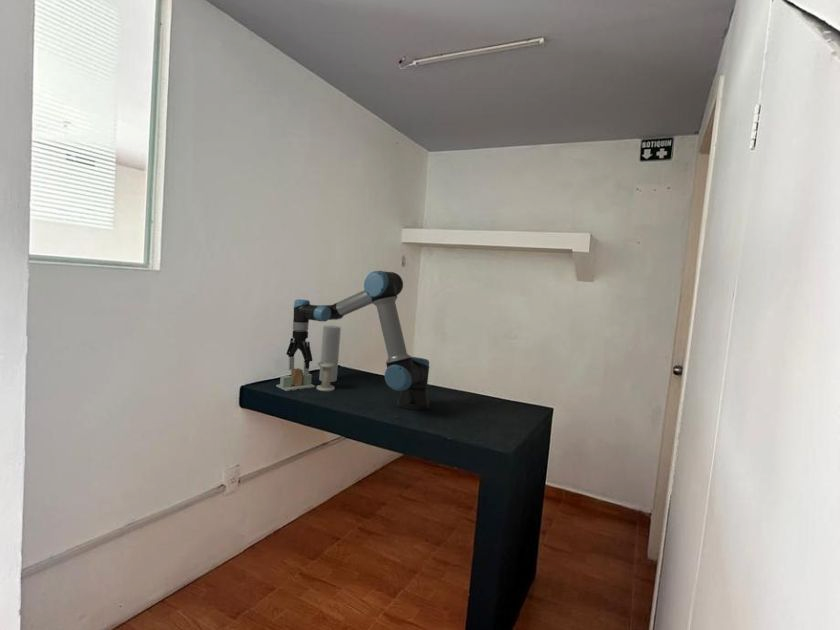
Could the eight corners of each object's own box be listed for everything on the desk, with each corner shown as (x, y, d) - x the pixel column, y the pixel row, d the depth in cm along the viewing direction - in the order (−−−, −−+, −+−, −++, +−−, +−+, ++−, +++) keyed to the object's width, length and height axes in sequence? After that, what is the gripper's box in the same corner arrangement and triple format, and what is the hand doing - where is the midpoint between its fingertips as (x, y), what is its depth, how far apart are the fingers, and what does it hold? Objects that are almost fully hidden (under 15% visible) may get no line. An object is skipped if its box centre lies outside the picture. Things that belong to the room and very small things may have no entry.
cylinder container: (316, 380, 243) (320, 325, 240) (324, 376, 252) (328, 324, 249) (331, 382, 240) (335, 327, 238) (339, 379, 249) (343, 326, 247)
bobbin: (338, 389, 227) (340, 364, 226) (323, 392, 221) (325, 366, 220) (327, 385, 233) (329, 361, 232) (312, 387, 227) (314, 362, 226)
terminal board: (314, 387, 228) (315, 376, 228) (286, 391, 217) (287, 379, 216) (304, 382, 235) (304, 371, 235) (276, 386, 223) (277, 374, 223)
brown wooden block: (294, 386, 223) (295, 370, 222) (290, 384, 226) (291, 369, 225) (301, 385, 226) (302, 370, 225) (297, 383, 229) (298, 368, 228)
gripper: (321, 333, 218) (318, 376, 220) (293, 327, 235) (291, 366, 237) (307, 334, 213) (305, 377, 214) (280, 327, 230) (278, 368, 231)
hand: (298, 372), depth 226 cm, fingers open, 13 cm apart
